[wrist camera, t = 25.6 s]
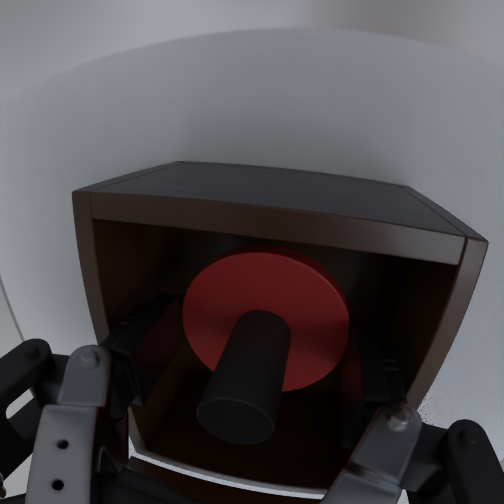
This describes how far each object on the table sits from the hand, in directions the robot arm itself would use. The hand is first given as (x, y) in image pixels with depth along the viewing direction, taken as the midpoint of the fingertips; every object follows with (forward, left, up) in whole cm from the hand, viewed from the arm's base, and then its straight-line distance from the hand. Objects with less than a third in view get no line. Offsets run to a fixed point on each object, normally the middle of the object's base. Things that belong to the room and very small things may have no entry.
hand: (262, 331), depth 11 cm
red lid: (0, 0, -1) cm, 1 cm away
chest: (+1, +1, -6) cm, 6 cm away
